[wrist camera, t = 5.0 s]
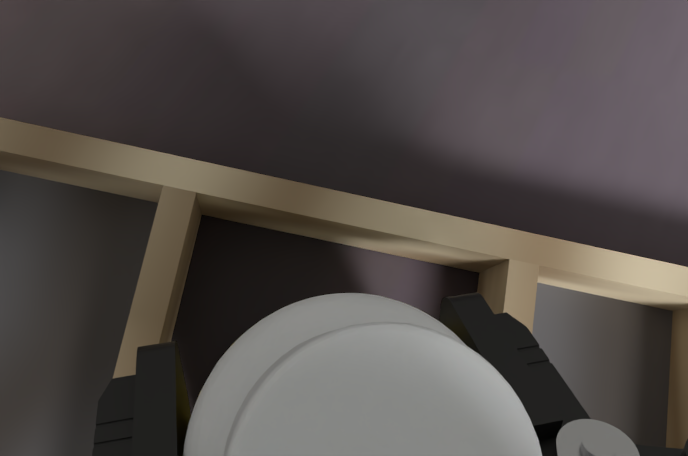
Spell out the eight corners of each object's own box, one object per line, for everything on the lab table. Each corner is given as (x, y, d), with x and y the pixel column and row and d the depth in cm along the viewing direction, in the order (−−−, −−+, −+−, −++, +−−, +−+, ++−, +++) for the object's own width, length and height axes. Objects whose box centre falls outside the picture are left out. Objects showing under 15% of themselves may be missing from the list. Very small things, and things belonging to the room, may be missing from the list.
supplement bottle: (163, 476, 16) (54, 606, 7) (269, 287, 18) (299, 181, 8) (353, 578, 16) (501, 843, 7) (443, 382, 18) (666, 383, 8)
